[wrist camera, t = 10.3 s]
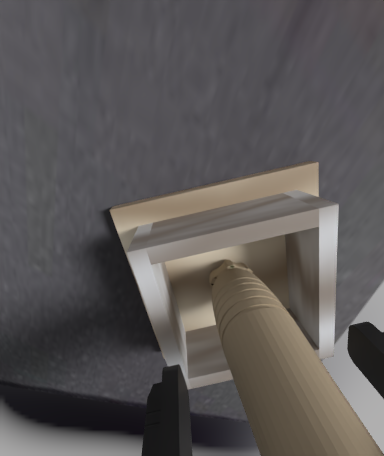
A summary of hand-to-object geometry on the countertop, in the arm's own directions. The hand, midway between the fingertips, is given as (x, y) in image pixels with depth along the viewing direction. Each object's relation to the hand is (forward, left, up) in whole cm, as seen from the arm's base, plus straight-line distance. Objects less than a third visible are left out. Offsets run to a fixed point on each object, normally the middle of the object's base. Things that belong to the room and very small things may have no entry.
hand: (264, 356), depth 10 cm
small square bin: (0, 0, -8) cm, 8 cm away
